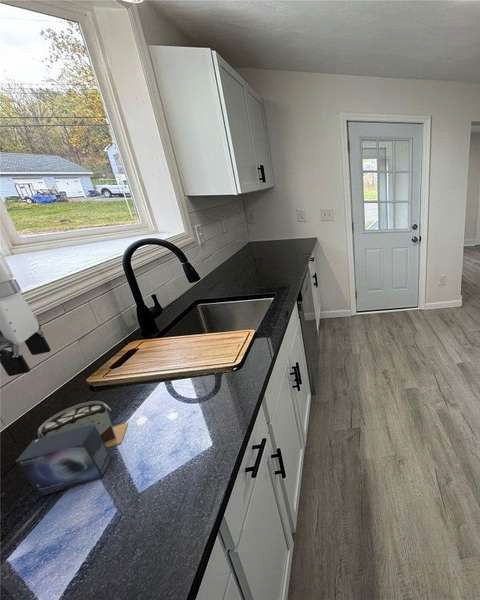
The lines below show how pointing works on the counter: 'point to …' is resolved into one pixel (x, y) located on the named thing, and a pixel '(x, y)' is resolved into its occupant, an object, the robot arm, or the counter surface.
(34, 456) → the small box
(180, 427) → the counter surface
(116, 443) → the cork pad
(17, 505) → the counter surface
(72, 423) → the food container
